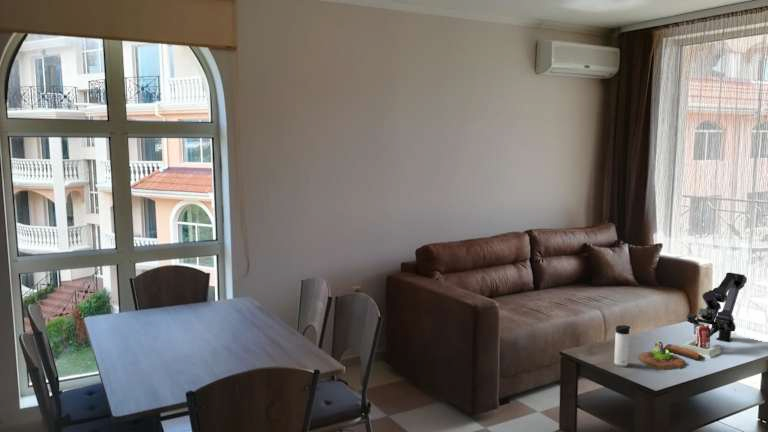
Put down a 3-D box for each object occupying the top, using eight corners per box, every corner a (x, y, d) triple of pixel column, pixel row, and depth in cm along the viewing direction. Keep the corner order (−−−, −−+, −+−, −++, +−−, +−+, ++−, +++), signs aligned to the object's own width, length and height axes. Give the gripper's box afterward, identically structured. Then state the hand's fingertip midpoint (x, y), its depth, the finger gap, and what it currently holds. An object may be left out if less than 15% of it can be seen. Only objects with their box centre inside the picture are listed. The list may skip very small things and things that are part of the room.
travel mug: (627, 368, 285) (629, 328, 283) (612, 365, 289) (614, 326, 286) (629, 364, 290) (631, 325, 288) (615, 361, 294) (617, 323, 292)
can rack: (693, 345, 318) (693, 338, 317) (720, 352, 307) (721, 345, 306) (681, 350, 310) (682, 343, 309) (709, 357, 299) (710, 351, 298)
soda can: (713, 348, 305) (713, 326, 304) (702, 350, 303) (702, 327, 302) (702, 345, 312) (702, 323, 311) (692, 346, 310) (692, 324, 309)
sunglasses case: (707, 357, 299) (704, 348, 296) (700, 366, 296) (697, 357, 293) (673, 347, 314) (670, 338, 311) (666, 356, 311) (663, 347, 308)
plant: (630, 358, 299) (631, 337, 298) (660, 353, 306) (661, 333, 305) (660, 372, 281) (662, 350, 279) (691, 367, 287) (693, 345, 286)
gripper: (689, 299, 315) (678, 322, 309) (726, 306, 300) (716, 331, 295) (695, 310, 321) (684, 334, 315) (732, 318, 306) (721, 343, 301)
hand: (701, 335), depth 306 cm, fingers closed on soda can, 6 cm apart
